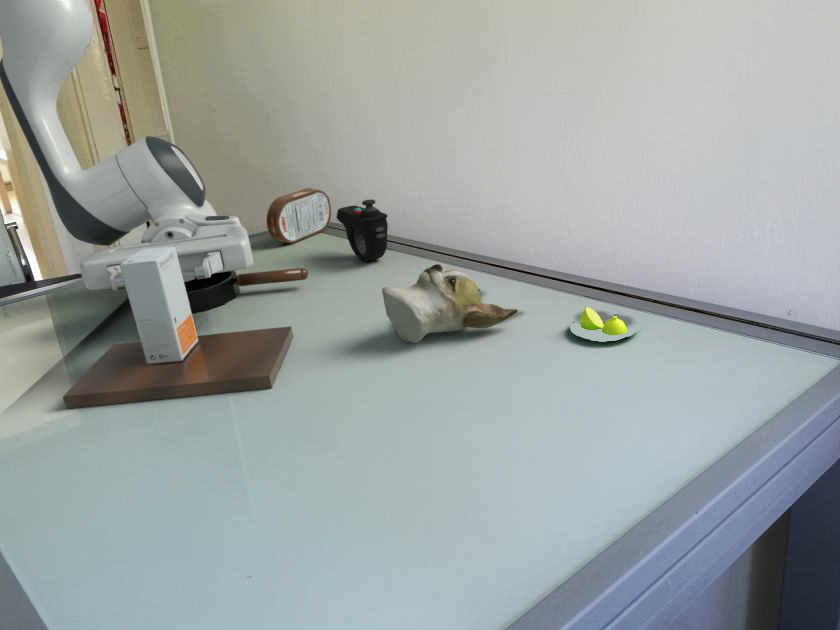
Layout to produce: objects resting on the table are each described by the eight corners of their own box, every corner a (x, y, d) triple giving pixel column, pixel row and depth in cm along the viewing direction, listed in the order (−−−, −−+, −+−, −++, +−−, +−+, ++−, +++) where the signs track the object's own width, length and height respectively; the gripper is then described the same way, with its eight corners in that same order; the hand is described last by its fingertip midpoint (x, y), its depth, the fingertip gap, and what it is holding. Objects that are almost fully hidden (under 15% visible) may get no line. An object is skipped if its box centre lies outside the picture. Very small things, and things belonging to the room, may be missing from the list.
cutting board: (66, 409, 77) (62, 396, 77) (117, 354, 90) (113, 343, 90) (272, 388, 77) (269, 375, 77) (293, 337, 90) (291, 326, 90)
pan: (133, 320, 101) (126, 299, 100) (163, 288, 114) (158, 270, 112) (304, 302, 102) (300, 281, 100) (316, 273, 114) (313, 254, 112)
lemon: (563, 344, 81) (562, 321, 80) (574, 317, 88) (574, 295, 87) (637, 347, 78) (637, 323, 77) (642, 319, 85) (643, 297, 84)
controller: (373, 269, 113) (364, 206, 109) (339, 254, 122) (329, 195, 118) (397, 263, 115) (389, 200, 111) (362, 248, 125) (353, 190, 120)
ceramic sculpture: (364, 263, 86) (476, 244, 92) (370, 331, 89) (477, 309, 95) (399, 287, 77) (520, 264, 83) (404, 361, 80) (520, 335, 86)
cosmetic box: (183, 362, 82) (156, 260, 77) (146, 365, 82) (116, 264, 78) (200, 340, 88) (176, 245, 83) (165, 343, 88) (139, 248, 83)
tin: (324, 226, 142) (317, 183, 138) (337, 227, 140) (330, 183, 137) (270, 248, 130) (260, 201, 127) (282, 249, 129) (273, 202, 125)
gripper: (89, 235, 94) (57, 265, 82) (249, 213, 97) (242, 239, 85) (103, 281, 97) (74, 317, 84) (259, 259, 100) (253, 290, 87)
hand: (160, 278), depth 85 cm, fingers open, 8 cm apart
